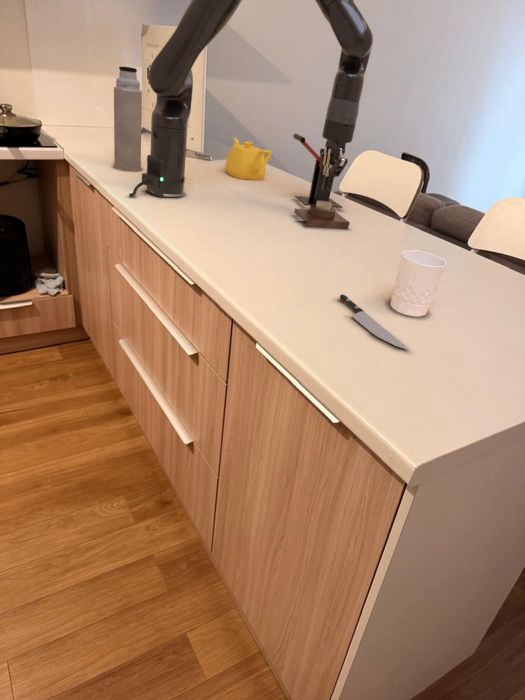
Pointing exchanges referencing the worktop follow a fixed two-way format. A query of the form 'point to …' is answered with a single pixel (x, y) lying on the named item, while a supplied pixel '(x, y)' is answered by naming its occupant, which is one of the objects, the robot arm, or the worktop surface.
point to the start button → (323, 205)
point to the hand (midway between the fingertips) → (326, 191)
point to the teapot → (247, 161)
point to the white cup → (416, 282)
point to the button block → (321, 218)
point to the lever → (307, 147)
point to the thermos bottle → (127, 120)
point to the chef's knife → (371, 323)
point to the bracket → (317, 190)
